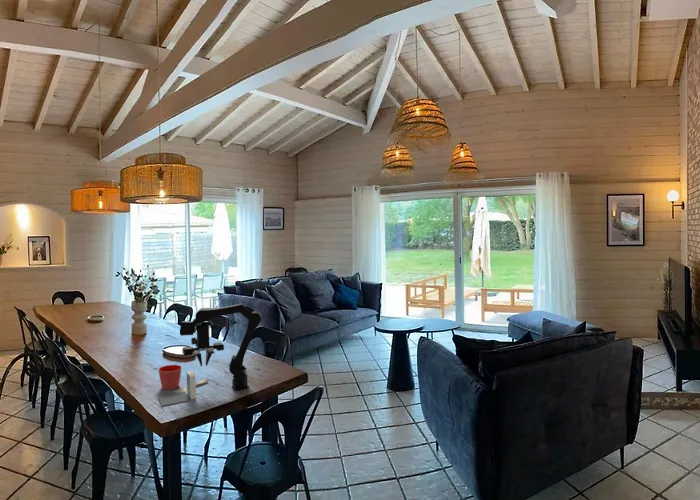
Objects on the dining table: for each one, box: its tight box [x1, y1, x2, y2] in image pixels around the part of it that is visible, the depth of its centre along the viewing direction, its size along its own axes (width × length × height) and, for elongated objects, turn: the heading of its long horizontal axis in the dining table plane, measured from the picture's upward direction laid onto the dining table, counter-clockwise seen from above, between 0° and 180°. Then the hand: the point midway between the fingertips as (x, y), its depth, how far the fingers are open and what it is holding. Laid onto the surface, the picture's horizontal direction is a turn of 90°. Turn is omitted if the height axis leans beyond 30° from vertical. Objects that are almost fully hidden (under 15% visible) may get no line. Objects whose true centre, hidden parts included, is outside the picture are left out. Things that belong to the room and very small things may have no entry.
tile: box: [186, 370, 197, 400], centre depth 209 cm, size 2×8×11 cm, turn 30°
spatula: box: [173, 378, 209, 394], centre depth 220 cm, size 18×4×1 cm, turn 144°
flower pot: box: [158, 364, 182, 391], centre depth 221 cm, size 11×11×10 cm
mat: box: [157, 392, 191, 408], centre depth 206 cm, size 12×12×1 cm
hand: (203, 366), depth 217 cm, fingers open, 2 cm apart
